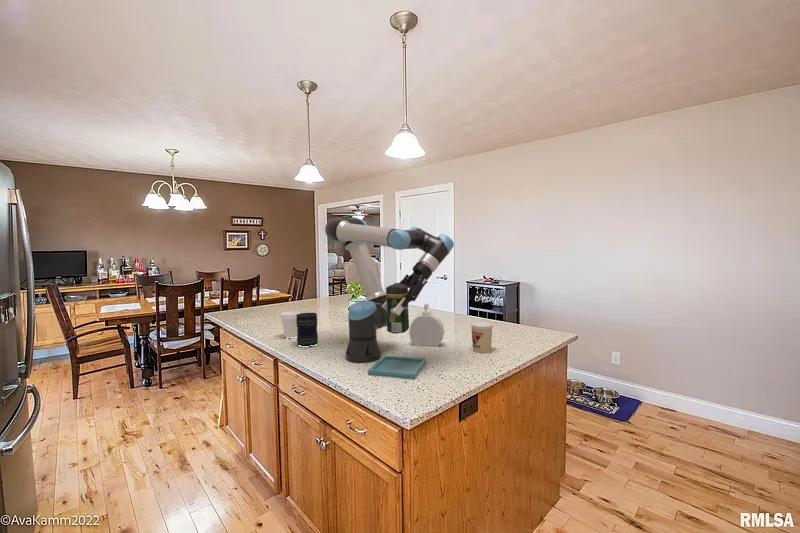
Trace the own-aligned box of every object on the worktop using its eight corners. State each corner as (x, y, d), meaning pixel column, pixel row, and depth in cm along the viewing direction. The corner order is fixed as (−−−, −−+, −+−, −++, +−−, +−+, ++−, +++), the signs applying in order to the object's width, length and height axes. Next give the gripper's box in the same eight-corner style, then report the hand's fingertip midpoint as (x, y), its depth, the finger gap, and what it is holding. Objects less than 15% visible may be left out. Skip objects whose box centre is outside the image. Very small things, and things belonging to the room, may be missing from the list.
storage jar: (292, 345, 179) (291, 315, 178) (308, 341, 187) (307, 311, 186) (306, 349, 174) (305, 317, 173) (322, 344, 182) (321, 313, 181)
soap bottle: (409, 345, 177) (408, 303, 175) (411, 342, 182) (411, 302, 180) (442, 347, 172) (442, 304, 171) (444, 344, 178) (443, 303, 176)
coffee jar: (391, 327, 149) (391, 281, 148) (411, 328, 147) (410, 282, 146) (384, 333, 140) (383, 284, 139) (404, 334, 138) (403, 285, 136)
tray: (368, 374, 139) (368, 369, 139) (384, 359, 156) (384, 355, 156) (414, 379, 133) (414, 374, 133) (426, 363, 150) (426, 358, 150)
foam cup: (278, 339, 191) (277, 314, 190) (286, 335, 200) (285, 311, 199) (295, 340, 190) (294, 315, 189) (303, 335, 199) (302, 311, 198)
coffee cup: (467, 349, 169) (467, 323, 168) (484, 346, 172) (484, 321, 172) (479, 354, 160) (479, 327, 159) (496, 352, 164) (497, 325, 163)
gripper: (446, 275, 139) (410, 322, 133) (417, 271, 159) (384, 312, 153) (434, 262, 136) (396, 309, 130) (406, 259, 156) (372, 300, 150)
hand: (390, 310), depth 141 cm, fingers closed on coffee jar, 9 cm apart
